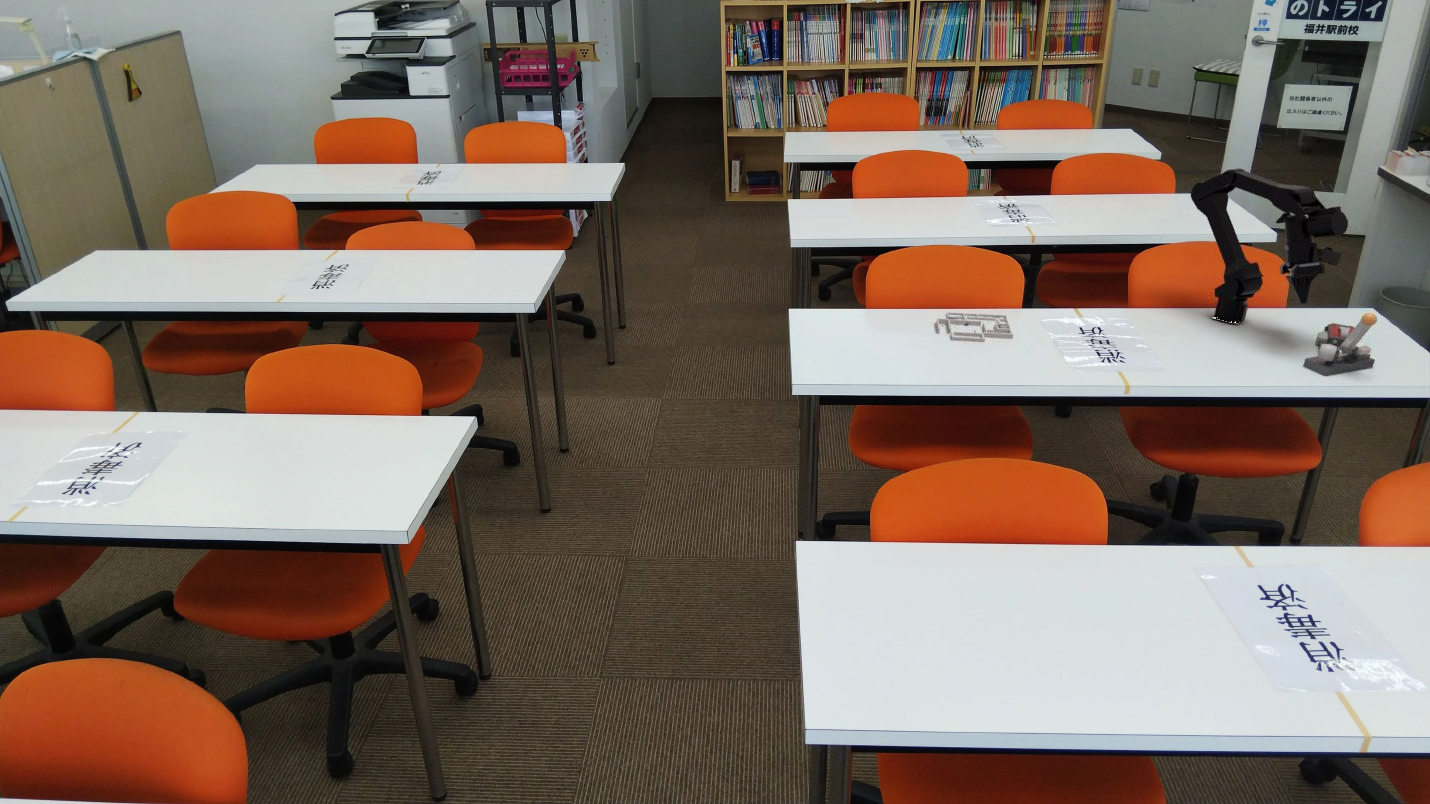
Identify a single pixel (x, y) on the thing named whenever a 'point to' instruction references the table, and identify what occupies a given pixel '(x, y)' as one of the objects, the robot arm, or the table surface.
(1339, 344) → the walkie-talkie
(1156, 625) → the table surface
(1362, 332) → the ball-topped post
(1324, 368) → the slide switch base
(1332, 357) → the push button
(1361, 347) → the white block
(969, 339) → the floor plan model
